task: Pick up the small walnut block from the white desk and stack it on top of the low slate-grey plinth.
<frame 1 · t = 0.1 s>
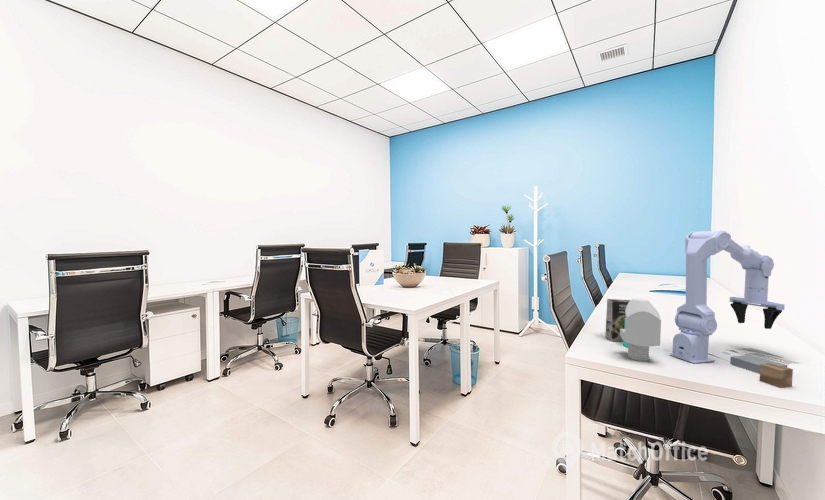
hand: (754, 325, 115), 10 cm above the table, tool pointing down, fingers open, 7 cm apart
plinth: (757, 368, 101), on the table
block: (775, 383, 91), on the table
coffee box: (620, 340, 129), on the table
candle: (633, 347, 121), on the table
light fixture: (638, 358, 109), on the table
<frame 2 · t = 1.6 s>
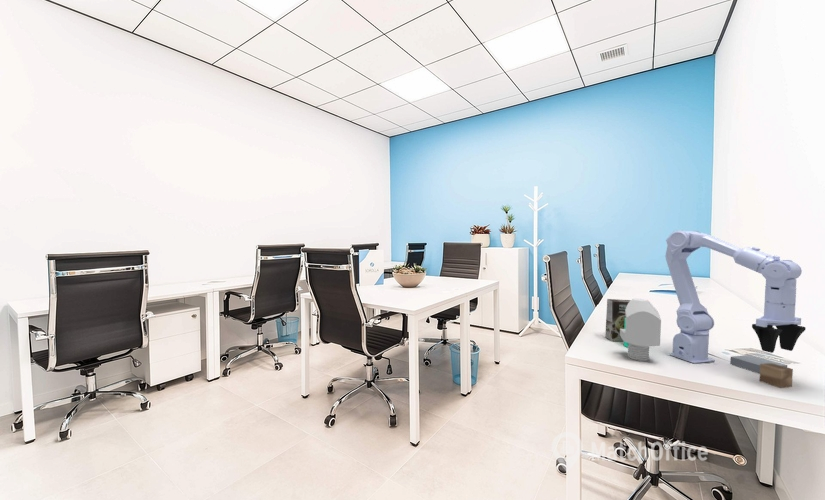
hand: (777, 350, 90), 9 cm above the table, tool pointing down, fingers open, 7 cm apart
nothing on the table moved.
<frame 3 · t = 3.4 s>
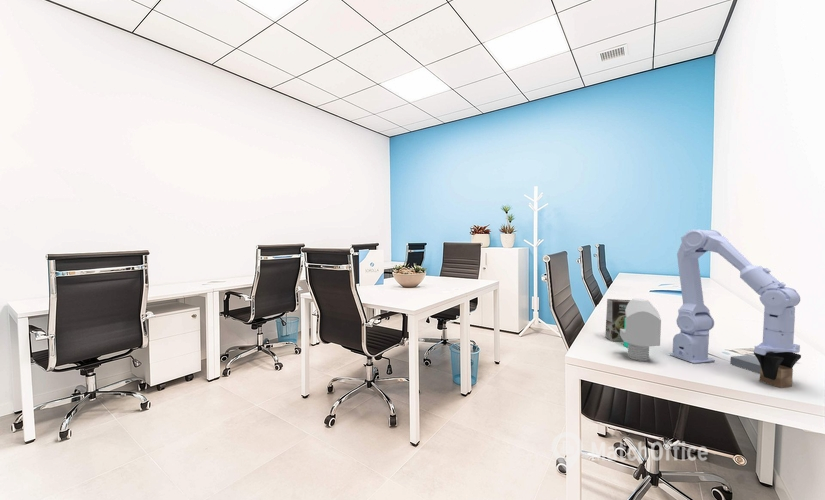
hand: (775, 377, 91), 2 cm above the table, tool pointing down, fingers closed on block, 4 cm apart
block: (775, 383, 91), on the table, touching gripper
everything else where it was.
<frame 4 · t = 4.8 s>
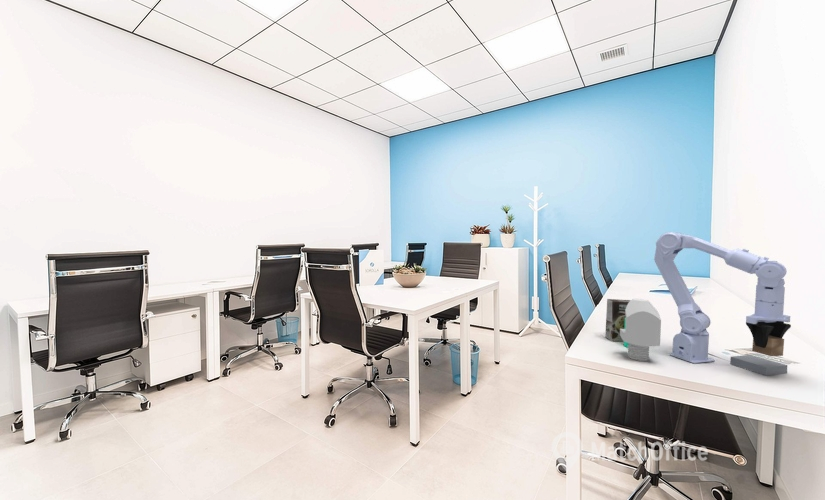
hand: (766, 346, 96), 9 cm above the table, tool pointing down, fingers closed on block, 5 cm apart
block: (767, 353, 96), point 7 cm above the table, touching gripper
everything else where it was.
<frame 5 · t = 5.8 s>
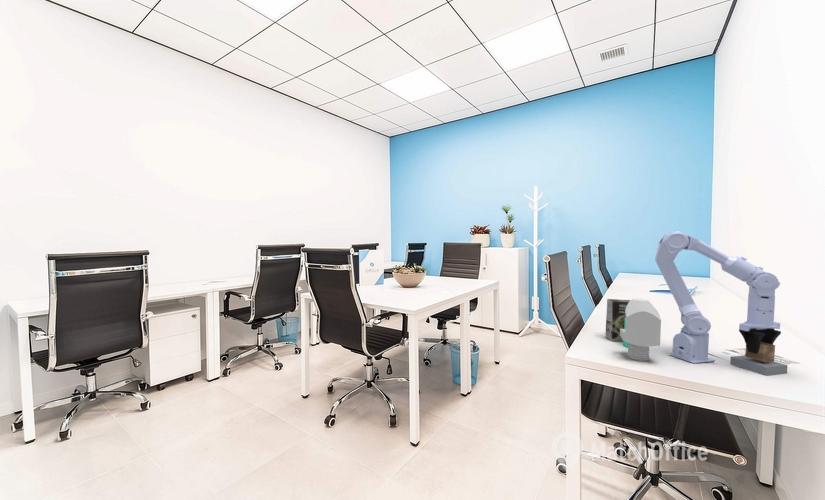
hand: (758, 352, 101), 5 cm above the table, tool pointing down, fingers closed on block, 5 cm apart
block: (759, 358, 101), point 3 cm above the table, touching gripper
everything else where it was.
when the fingers open (5 cm above the table, at t = 6.3 s): block stays where it is, resting on plinth.
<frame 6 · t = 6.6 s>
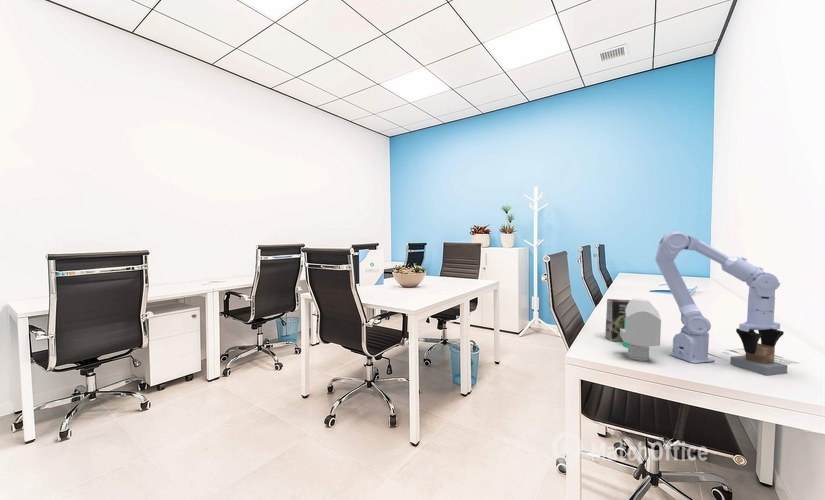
hand: (758, 352, 101), 5 cm above the table, tool pointing down, fingers open, 7 cm apart
block: (759, 361, 101), point 2 cm above the table, touching plinth
everything else where it was.
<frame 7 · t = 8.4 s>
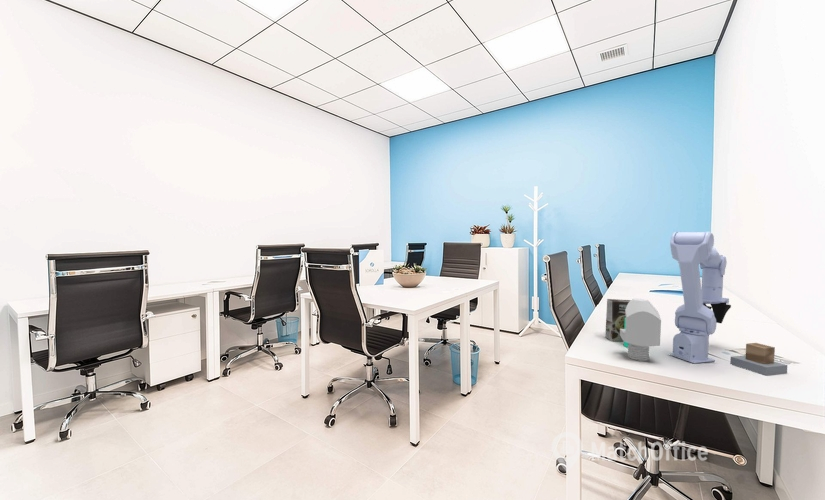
hand: (710, 323, 119), 10 cm above the table, tool pointing down, fingers open, 7 cm apart
nothing on the table moved.
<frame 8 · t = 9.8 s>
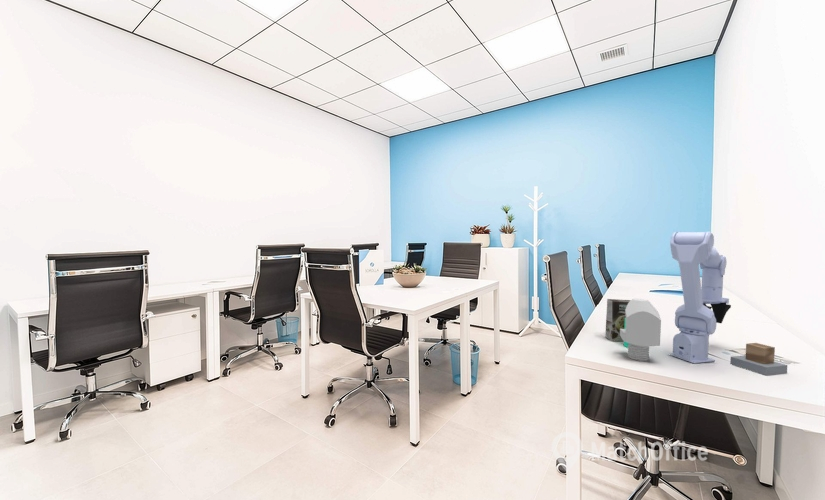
hand: (710, 323, 119), 10 cm above the table, tool pointing down, fingers open, 7 cm apart
nothing on the table moved.
at the end: block inside the target area on the plinth (0.3 cm from its centre), point 2.5 cm above the plinth's base; block tilted 0°; the gripper is holding nothing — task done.
